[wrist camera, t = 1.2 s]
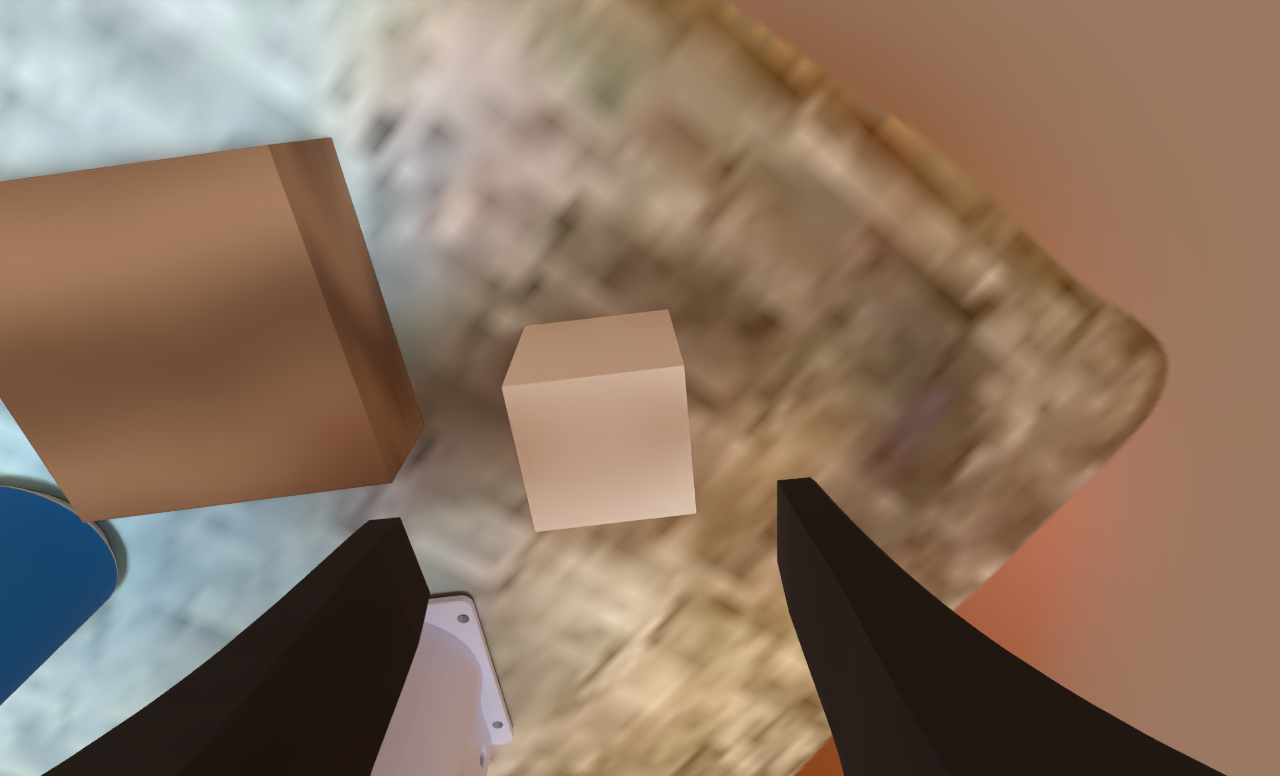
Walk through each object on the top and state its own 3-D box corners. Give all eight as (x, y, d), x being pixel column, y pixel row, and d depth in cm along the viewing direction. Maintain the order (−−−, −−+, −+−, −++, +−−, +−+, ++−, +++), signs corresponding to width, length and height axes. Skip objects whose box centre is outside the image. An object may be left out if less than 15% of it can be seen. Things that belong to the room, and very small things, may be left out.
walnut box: (427, 421, 22) (392, 482, 19) (167, 455, 23) (82, 522, 19) (336, 137, 18) (268, 145, 14) (15, 180, 18) (-131, 199, 15)
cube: (679, 432, 23) (696, 513, 18) (550, 447, 23) (535, 532, 18) (667, 308, 21) (684, 365, 16) (525, 325, 21) (501, 386, 16)
